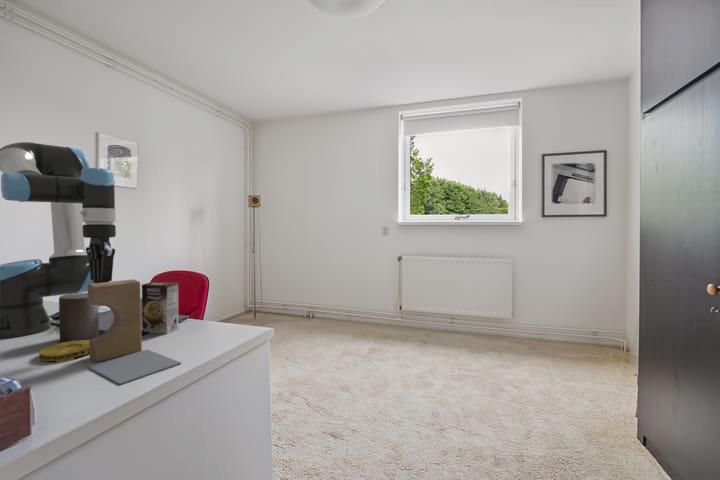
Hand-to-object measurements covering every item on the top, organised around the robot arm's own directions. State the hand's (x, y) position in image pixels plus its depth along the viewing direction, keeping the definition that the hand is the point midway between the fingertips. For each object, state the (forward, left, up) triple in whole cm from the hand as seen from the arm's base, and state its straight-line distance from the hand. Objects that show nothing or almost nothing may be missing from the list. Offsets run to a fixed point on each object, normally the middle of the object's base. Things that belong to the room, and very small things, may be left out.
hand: (101, 305), depth 100 cm
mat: (+21, -1, -13) cm, 24 cm away
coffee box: (-3, +18, -13) cm, 22 cm away
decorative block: (+8, 0, -13) cm, 15 cm away
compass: (-3, -7, -13) cm, 15 cm away
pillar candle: (-16, 0, -13) cm, 21 cm away
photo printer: (-11, +12, -13) cm, 21 cm away
